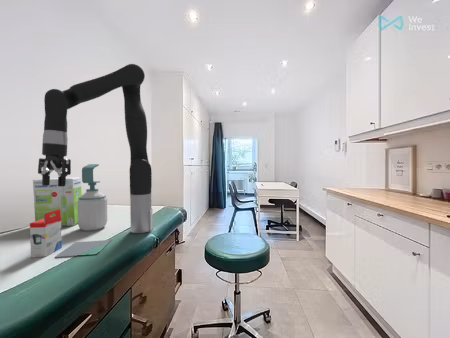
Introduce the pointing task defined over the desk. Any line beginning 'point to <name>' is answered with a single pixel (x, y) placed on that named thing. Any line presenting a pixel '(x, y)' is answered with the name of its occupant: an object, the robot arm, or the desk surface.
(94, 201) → the soap bottle
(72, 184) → the toothbrush box
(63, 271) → the desk surface
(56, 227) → the ink box
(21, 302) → the desk surface
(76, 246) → the mat
